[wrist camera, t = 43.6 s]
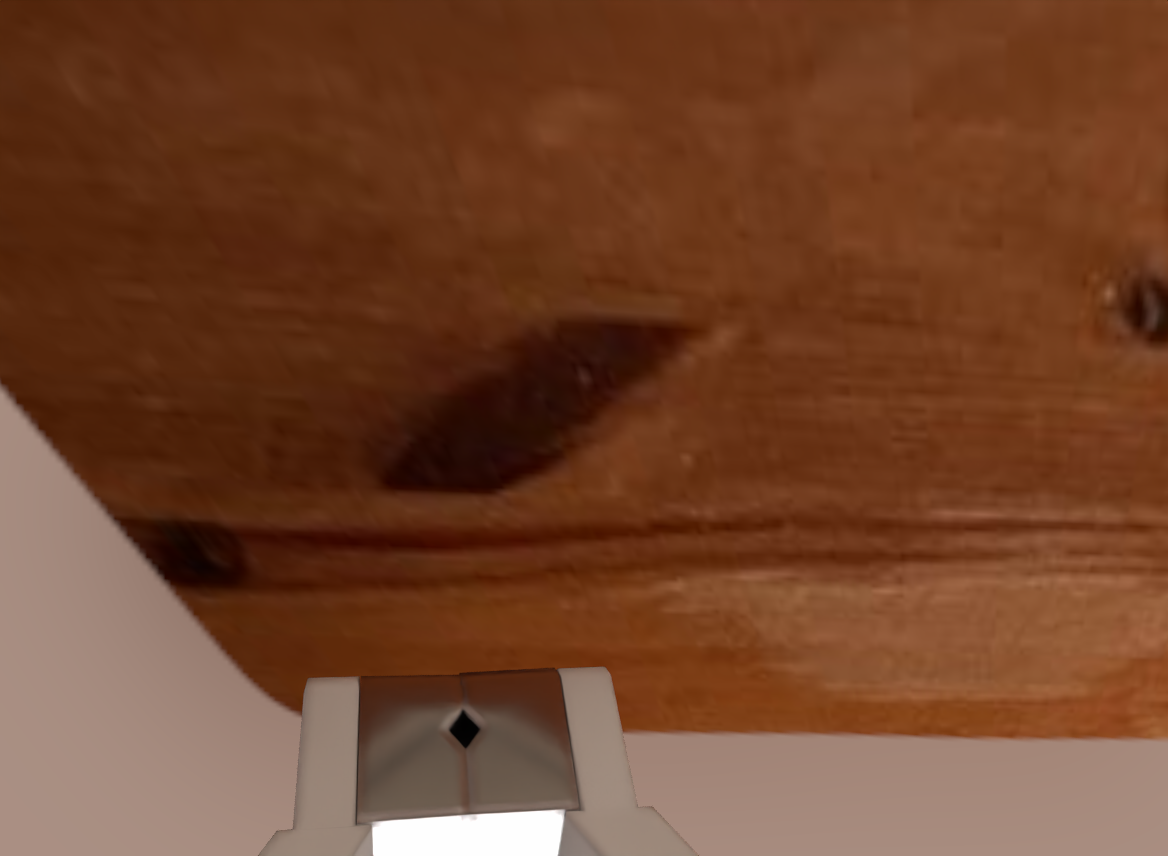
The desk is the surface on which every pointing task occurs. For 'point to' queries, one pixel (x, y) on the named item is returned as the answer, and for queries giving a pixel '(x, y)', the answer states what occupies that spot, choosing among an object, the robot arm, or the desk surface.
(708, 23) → the desk surface
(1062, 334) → the desk surface
